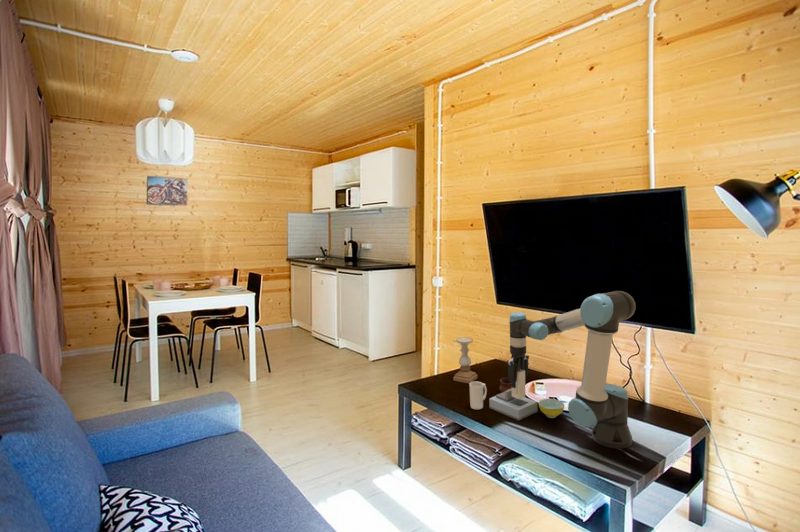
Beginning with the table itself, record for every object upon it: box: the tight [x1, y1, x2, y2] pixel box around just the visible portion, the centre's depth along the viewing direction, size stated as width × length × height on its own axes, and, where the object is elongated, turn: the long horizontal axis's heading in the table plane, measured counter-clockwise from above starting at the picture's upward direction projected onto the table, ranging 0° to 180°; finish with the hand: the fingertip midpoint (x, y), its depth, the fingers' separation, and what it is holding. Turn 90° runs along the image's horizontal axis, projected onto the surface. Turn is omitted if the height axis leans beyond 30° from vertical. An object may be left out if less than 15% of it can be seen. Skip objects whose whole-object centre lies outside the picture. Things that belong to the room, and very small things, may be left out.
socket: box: [488, 395, 539, 421], centre depth 214 cm, size 18×14×5 cm
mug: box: [468, 380, 488, 410], centre depth 220 cm, size 10×7×12 cm, turn 120°
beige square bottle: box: [512, 367, 526, 399], centre depth 210 cm, size 4×4×14 cm
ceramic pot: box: [498, 377, 512, 393], centre depth 236 cm, size 18×18×7 cm
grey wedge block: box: [495, 389, 515, 402], centre depth 217 cm, size 8×8×5 cm
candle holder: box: [452, 336, 479, 384], centre depth 257 cm, size 11×11×24 cm
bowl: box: [538, 398, 565, 419], centre depth 206 cm, size 11×12×6 cm
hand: (518, 392), depth 211 cm, fingers closed on beige square bottle, 4 cm apart
